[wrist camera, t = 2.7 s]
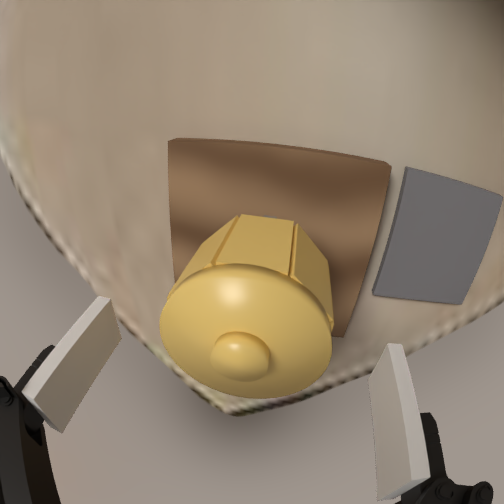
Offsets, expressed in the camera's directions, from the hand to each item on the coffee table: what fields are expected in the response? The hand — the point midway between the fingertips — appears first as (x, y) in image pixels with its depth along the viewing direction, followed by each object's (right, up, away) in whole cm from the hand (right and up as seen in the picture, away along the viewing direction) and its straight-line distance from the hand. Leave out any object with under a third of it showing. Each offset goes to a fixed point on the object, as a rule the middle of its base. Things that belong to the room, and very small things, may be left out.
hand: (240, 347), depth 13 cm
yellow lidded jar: (+1, +3, +5) cm, 6 cm away
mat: (+15, +5, +6) cm, 17 cm away
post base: (+2, +5, +8) cm, 10 cm away
